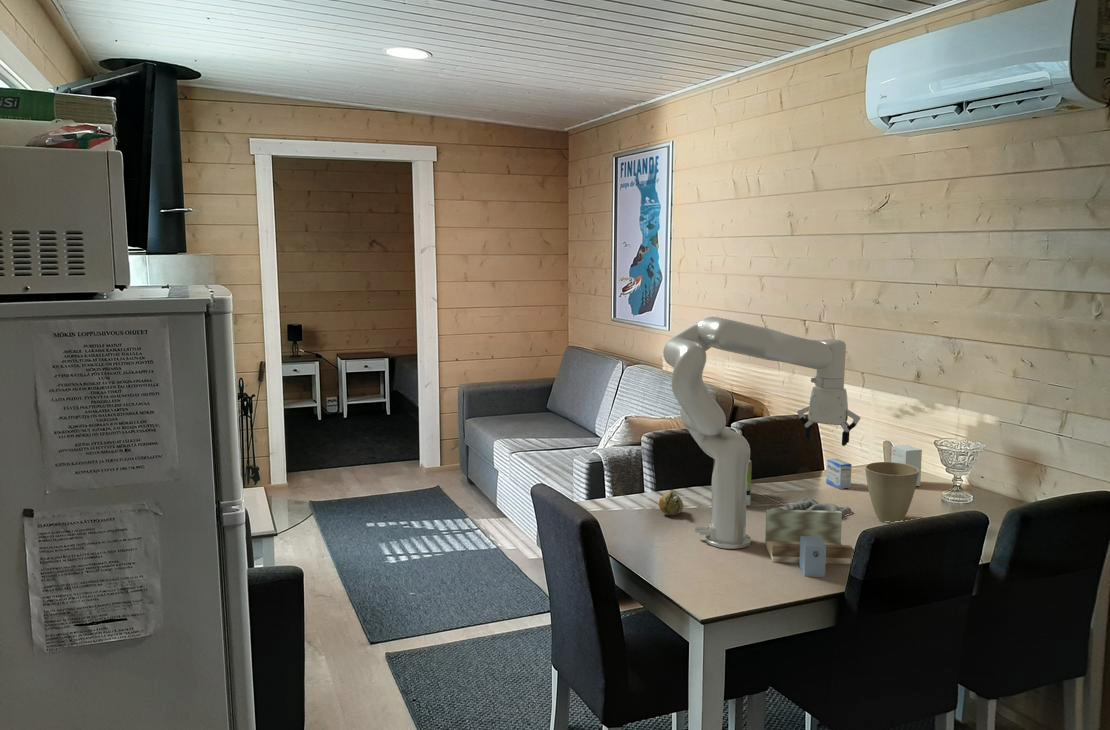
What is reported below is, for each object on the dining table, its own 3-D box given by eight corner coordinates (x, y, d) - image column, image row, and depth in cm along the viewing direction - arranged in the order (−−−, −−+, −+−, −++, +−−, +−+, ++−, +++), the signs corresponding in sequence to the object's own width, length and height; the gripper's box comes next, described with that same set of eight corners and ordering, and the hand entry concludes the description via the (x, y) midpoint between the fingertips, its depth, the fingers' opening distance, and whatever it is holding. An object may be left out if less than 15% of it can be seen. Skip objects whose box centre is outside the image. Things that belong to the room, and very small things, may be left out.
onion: (688, 513, 257) (689, 488, 255) (675, 520, 250) (675, 494, 249) (667, 508, 261) (668, 484, 260) (654, 515, 255) (654, 490, 254)
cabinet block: (805, 577, 206) (805, 546, 205) (799, 565, 214) (800, 536, 213) (825, 577, 206) (826, 547, 204) (819, 566, 213) (820, 536, 212)
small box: (920, 486, 281) (922, 449, 279) (904, 488, 279) (906, 450, 277) (905, 480, 288) (907, 444, 286) (889, 481, 287) (891, 445, 285)
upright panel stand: (772, 561, 216) (773, 525, 215) (765, 544, 229) (766, 509, 228) (851, 563, 214) (852, 526, 213) (839, 545, 227) (840, 510, 226)
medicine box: (825, 483, 286) (826, 459, 285) (836, 482, 288) (837, 458, 286) (839, 489, 279) (840, 464, 278) (851, 488, 280) (852, 463, 279)
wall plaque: (821, 534, 238) (822, 521, 237) (764, 519, 251) (764, 507, 251) (860, 515, 254) (860, 503, 253) (804, 502, 267) (804, 490, 267)
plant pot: (878, 508, 258) (880, 459, 256) (925, 519, 247) (927, 468, 245) (853, 519, 249) (855, 468, 246) (901, 531, 238) (904, 477, 235)
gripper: (795, 382, 234) (792, 441, 236) (858, 388, 224) (855, 449, 227) (803, 379, 240) (800, 436, 242) (864, 384, 231) (861, 444, 233)
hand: (826, 442), depth 234 cm, fingers open, 9 cm apart
